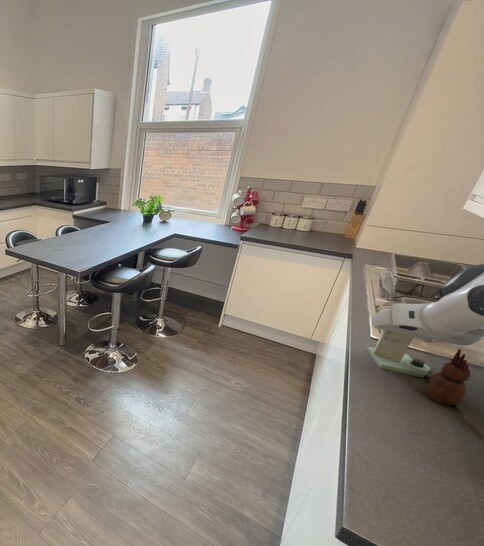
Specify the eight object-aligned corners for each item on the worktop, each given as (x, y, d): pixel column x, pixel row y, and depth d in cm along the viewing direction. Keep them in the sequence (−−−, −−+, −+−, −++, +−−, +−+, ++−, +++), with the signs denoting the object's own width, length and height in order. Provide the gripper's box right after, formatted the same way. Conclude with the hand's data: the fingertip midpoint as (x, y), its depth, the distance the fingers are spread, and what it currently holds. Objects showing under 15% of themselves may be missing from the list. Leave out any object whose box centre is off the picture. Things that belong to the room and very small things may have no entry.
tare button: (419, 364, 93) (422, 360, 92) (424, 369, 91) (426, 364, 90) (409, 362, 93) (411, 357, 93) (413, 366, 91) (415, 362, 91)
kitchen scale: (410, 359, 99) (414, 351, 98) (429, 380, 90) (434, 372, 89) (367, 350, 103) (370, 342, 102) (381, 370, 94) (385, 361, 93)
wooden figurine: (420, 387, 87) (445, 343, 81) (450, 397, 84) (478, 351, 78) (427, 402, 82) (454, 355, 76) (459, 412, 79) (490, 365, 73)
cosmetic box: (373, 354, 99) (388, 321, 94) (373, 348, 102) (388, 316, 97) (401, 363, 95) (418, 329, 90) (400, 356, 98) (416, 323, 93)
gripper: (495, 319, 77) (452, 334, 89) (388, 301, 85) (362, 317, 97) (498, 344, 75) (454, 355, 87) (388, 323, 83) (362, 336, 95)
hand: (405, 335), depth 92 cm, fingers open, 8 cm apart
